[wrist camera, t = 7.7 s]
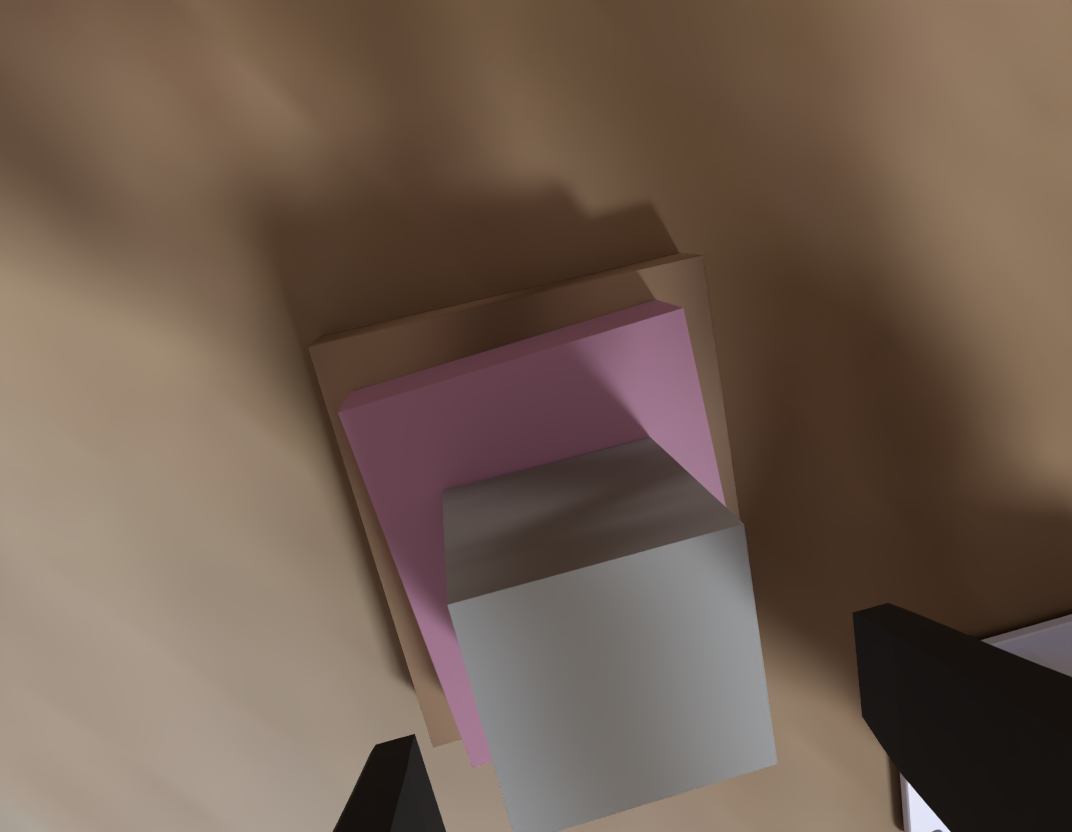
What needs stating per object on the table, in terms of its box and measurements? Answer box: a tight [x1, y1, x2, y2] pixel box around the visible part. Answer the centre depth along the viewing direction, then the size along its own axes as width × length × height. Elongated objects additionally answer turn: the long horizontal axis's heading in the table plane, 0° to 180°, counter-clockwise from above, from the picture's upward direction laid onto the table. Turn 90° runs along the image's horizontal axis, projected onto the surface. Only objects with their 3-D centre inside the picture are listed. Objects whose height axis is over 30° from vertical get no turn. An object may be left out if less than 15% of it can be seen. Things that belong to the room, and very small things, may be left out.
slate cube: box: [442, 437, 777, 832], centre depth 14 cm, size 5×5×5 cm
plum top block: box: [338, 300, 726, 767], centre depth 18 cm, size 8×10×2 cm
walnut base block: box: [308, 253, 740, 747], centre depth 20 cm, size 10×12×2 cm
